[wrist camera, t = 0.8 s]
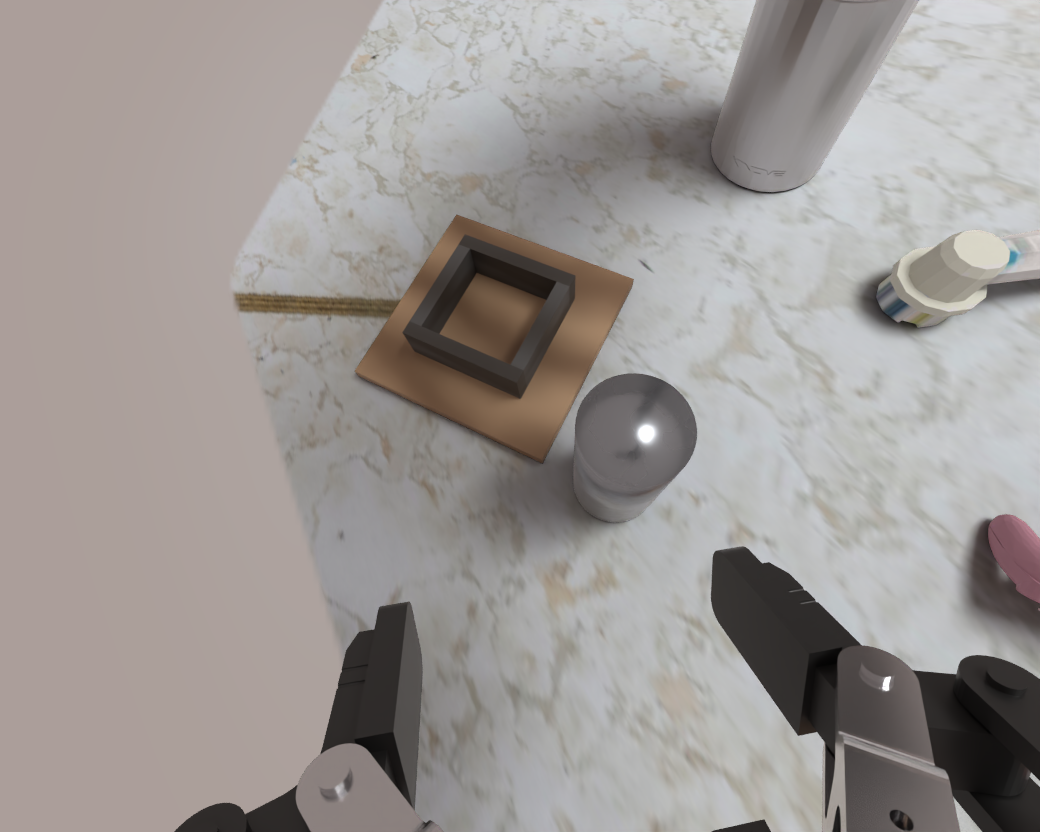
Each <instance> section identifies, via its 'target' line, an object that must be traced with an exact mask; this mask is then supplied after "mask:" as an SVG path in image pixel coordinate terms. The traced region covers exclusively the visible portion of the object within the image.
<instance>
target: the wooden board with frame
mask: <svg viewBox="0 0 1040 832" xmlns="http://www.w3.org/2000/svg"><path fill="white" fill-rule="evenodd" d="M633 280H634V279H632V278H629V277H626V276H623V275H621V274H618V273H615V272H613V271H610V270H607V269H604V268H602V267H599V266H596V265H593V264H591V263H588V262H585V261H582V260H580V259H577V258H574V257H571V256H569V255H566V254H563V253H560V252H558V251H555V250H552V249H549V248H547V247H544V246H541V245H539V244H536V243H533V242H530V241H528V240H525V239H522V238H519V237H517V236H514V235H511V234H508V233H506V232H503V231H500V230H497V229H495V228H492V227H489V226H486V225H484V224H481V223H478V222H475V221H473V220H470V219H467V218H465V217H462V216H459V215H456V216H455V218H454V219H453V221H452V223H451V224H450V226H449V227H448V229H447V230H446V232H445V233H444V235H443V236H442V238H441V239H440V241H439V243H438V244H437V246H436V247H435V249H434V250H433V252H432V253H431V255H430V256H429V258H428V259H427V261H426V262H425V264H424V266H423V267H422V269H421V270H420V272H419V273H418V275H417V276H416V278H415V279H414V281H413V282H412V284H411V285H410V287H409V289H408V290H407V292H406V293H405V295H404V296H403V298H402V299H401V301H400V302H399V304H398V305H397V307H396V308H395V310H394V312H393V313H392V315H391V316H390V318H389V319H388V321H387V322H386V324H385V325H384V327H383V328H382V330H381V331H380V333H379V335H378V336H377V338H376V339H375V341H374V342H373V344H372V345H371V347H370V348H369V350H368V351H367V353H366V354H365V356H364V358H363V359H362V361H361V362H360V364H359V365H358V367H357V368H356V370H355V372H356V373H357V374H358V375H359V376H360V377H362V378H364V379H366V380H368V381H370V382H372V383H374V384H376V385H378V386H381V387H383V388H385V389H387V390H389V391H391V392H393V393H395V394H397V395H399V396H402V397H404V398H406V399H408V400H410V401H412V402H414V403H416V404H418V405H421V406H423V407H425V408H427V409H429V410H431V411H433V412H435V413H437V414H439V415H442V416H444V417H446V418H448V419H450V420H452V421H454V422H456V423H458V424H460V425H463V426H465V427H467V428H469V429H471V430H473V431H475V432H477V433H479V434H482V435H484V436H486V437H488V438H490V439H492V440H494V441H496V442H498V443H500V444H503V445H505V446H507V447H509V448H511V449H513V450H515V451H517V452H519V453H522V454H524V455H526V456H528V457H530V458H532V459H534V460H536V461H538V462H540V463H543V462H544V460H545V458H546V456H547V454H548V452H549V450H550V448H551V446H552V444H553V442H554V440H555V438H556V436H557V434H558V432H559V430H560V428H561V426H562V424H563V422H564V420H565V418H566V416H567V414H568V412H569V411H570V409H571V407H572V405H573V403H574V401H575V399H576V397H577V395H578V393H579V391H580V389H581V387H582V385H583V383H584V381H585V379H586V377H587V375H588V373H589V371H590V369H591V367H592V365H593V363H594V361H595V359H596V357H597V355H598V353H599V351H600V349H601V347H602V345H603V343H604V341H605V339H606V337H607V335H608V333H609V332H610V330H611V328H612V326H613V324H614V322H615V320H616V318H617V316H618V314H619V312H620V310H621V308H622V306H623V304H624V302H625V300H626V298H627V296H628V294H629V292H630V290H631V288H632V285H633Z"/></svg>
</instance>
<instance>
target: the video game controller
mask: <svg viewBox="0 0 1040 832" xmlns="http://www.w3.org/2000/svg"><path fill="white" fill-rule="evenodd" d="M988 539H989V544H990V547H991V550H992V552H993V555H994V557H995V559H996V560H997V562H998V564H999V565H1000V567H1001V568H1002V569H1003V571H1004V572H1005V573H1006V574H1007V576H1008V577H1009V578H1010V579H1011V580H1012V581H1013V582H1014V583H1015V584H1016V590H1017V591H1018V592H1019V593H1021V594H1022V595H1024V596H1026V597H1028V598H1029V599H1031V600H1034V601H1036V602H1038V603H1040V539H1039V537H1038V536H1037V535H1036V534H1035V533H1034V532H1033V530H1032V529H1031V528H1030V527H1029V526H1028V525H1027V524H1026V523H1025V522H1024V521H1022V520H1021V519H1019V518H1017V517H1016V516H1013V515H1007V514H1006V515H999V516H997V517H995V518H994V519H993V520H992V521H991V522H990V524H989V529H988ZM1038 610H1039V611H1040V607H1038Z"/></svg>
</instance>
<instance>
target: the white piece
mask: <svg viewBox="0 0 1040 832" xmlns="http://www.w3.org/2000/svg"><path fill="white" fill-rule="evenodd" d="M1038 278H1040V230H1037V231H1031V232H1025V233H1020V234H1014V235H1008V236H1003V237H997V236H995V235H994V234H992V233H989V232H984V231H980V230H971V231H963V232H960V233H957V234H954V235H952V236H950V237H949V238H947V239H946V240H945V241H943V242H942V243H940V244H939V245H937V246H934V247H926V248H918V249H914V250H913V251H911V252H910V253H908V254H907V255H906V256H904V257H903V258H902V259H900V260H899V261H898V262H897V263H896V264H894V265H893V270H892V274H891V275H890V276H889V277H887V278H886V279H885V280H884V281H883V282H882V283H880V284H879V287H878V291H877V296H876V299H877V301H878V303H879V305H880V307H881V309H882V311H883V312H884V313H886V314H887V315H888V316H890V317H891V318H892V319H894V320H895V321H897V322H898V323H899V322H900V321H901V320H903V321H906V322H910V323H914V324H916V325H917V327H918V328H919V327H926V326H933V325H937V324H938V323H940V322H941V321H943V320H945V319H946V318H948V317H949V316H953V315H960V314H964V313H966V312H967V311H969V310H971V309H972V308H973V307H975V306H976V305H977V304H978V303H980V302H981V301H982V300H983V299H985V298H986V293H987V285H988V284H995V283H1003V282H1012V281H1021V280H1030V279H1038Z"/></svg>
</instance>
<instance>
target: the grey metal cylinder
mask: <svg viewBox="0 0 1040 832" xmlns="http://www.w3.org/2000/svg"><path fill="white" fill-rule="evenodd" d="M696 439H697V427H696V421H695V417H694V414H693V412H692V409H691V407H690V406H689V404H688V402H687V401H686V400H685V398H684V397H683V396H682V395H681V394H680V393H679V392H678V391H677V390H676V389H675V388H674V387H673V386H671V385H670V384H668V383H666V382H665V381H663V380H660V379H658V378H656V377H653V376H649V375H644V374H623V375H618V376H614V377H611V378H609V379H606V380H605V381H603V382H601V383H599V384H598V385H597V386H595V387H594V388H593V389H592V390H591V391H590V392H589V393H588V394H587V396H586V397H585V398H584V400H583V401H582V403H581V405H580V407H579V410H578V413H577V417H576V424H575V445H574V470H573V486H574V491H575V495H576V497H577V499H578V501H579V503H580V504H581V506H582V507H583V508H584V509H585V510H586V511H587V512H588V513H589V514H591V515H592V516H594V517H596V518H598V519H600V520H603V521H606V522H613V523H619V522H625V521H629V520H631V519H634V518H635V517H637V516H639V515H640V514H641V513H643V512H644V510H645V509H646V508H647V507H648V506H649V505H650V504H651V503H652V502H653V501H654V500H655V499H656V497H657V496H658V495H659V494H660V493H661V492H662V491H663V490H664V489H665V488H666V487H667V485H668V484H669V483H670V482H671V481H672V480H673V479H674V478H675V477H676V476H677V475H678V473H679V472H680V471H681V470H682V469H683V468H684V467H685V466H686V464H687V463H688V461H689V460H690V458H691V456H692V454H693V451H694V448H695V445H696Z"/></svg>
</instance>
